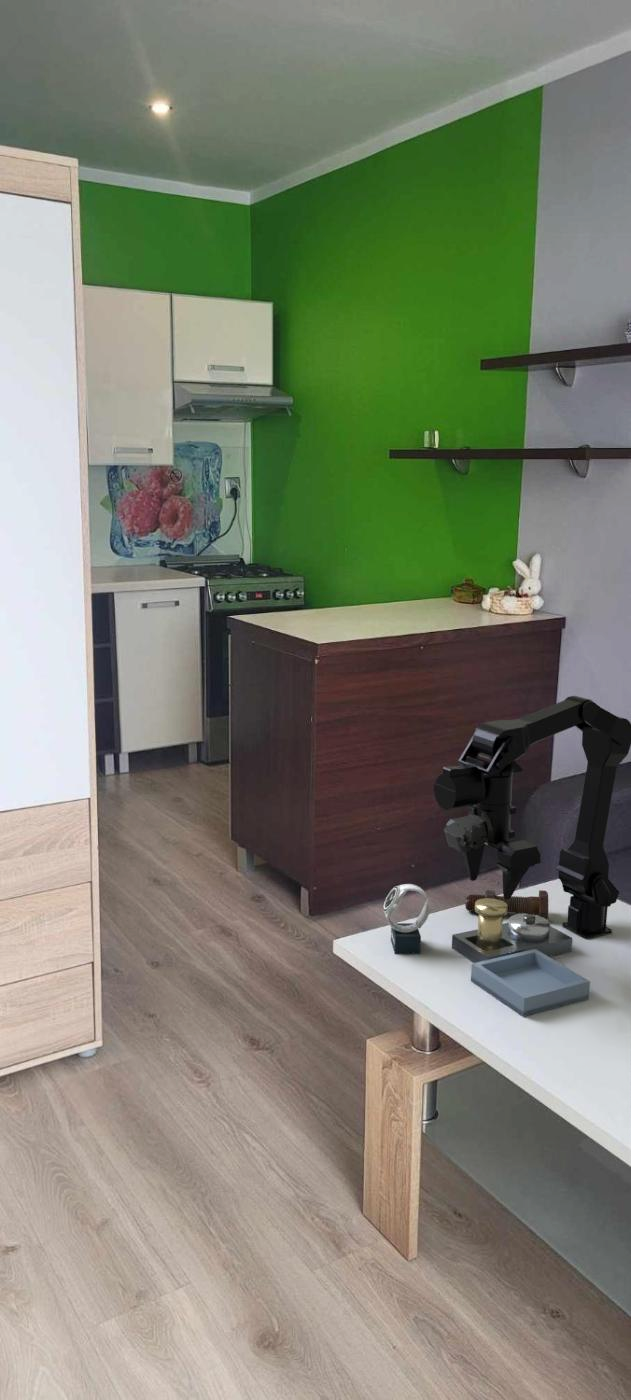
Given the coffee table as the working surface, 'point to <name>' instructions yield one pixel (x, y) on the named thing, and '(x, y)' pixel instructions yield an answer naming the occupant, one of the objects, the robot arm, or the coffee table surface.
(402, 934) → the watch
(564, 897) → the coffee table surface
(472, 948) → the block
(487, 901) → the pin
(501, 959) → the tray
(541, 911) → the bolt
